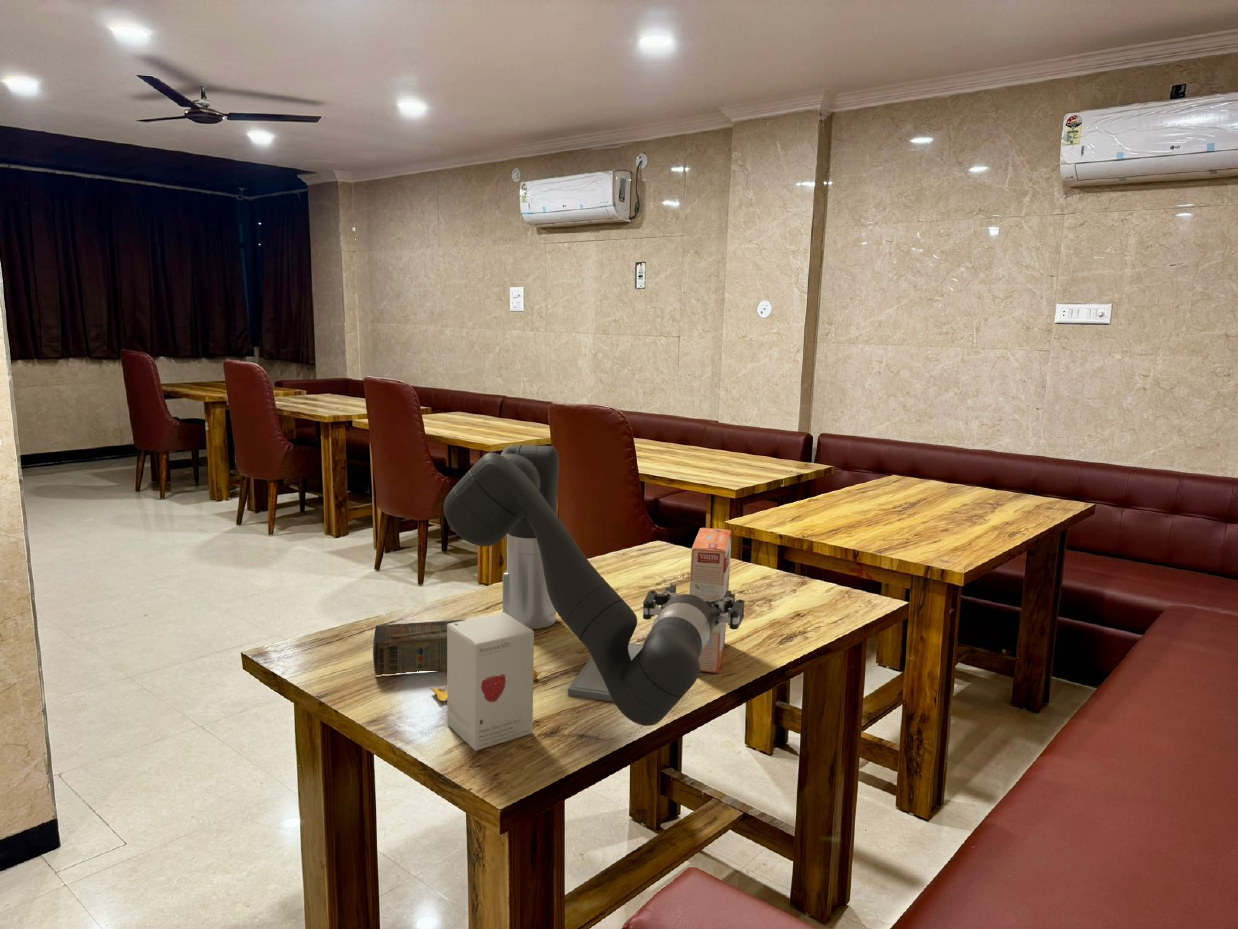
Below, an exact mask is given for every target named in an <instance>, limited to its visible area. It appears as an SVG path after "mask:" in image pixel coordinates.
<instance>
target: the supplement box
mask: <svg viewBox="0 0 1238 929" xmlns="http://www.w3.org/2000/svg"><path fill="white" fill-rule="evenodd" d="M463 620H464V621H459V622H454V623H449V624H447V671H446V683H447V685H446V686H447V700H446V701H447V703H446V705H447V707H446V708H447V711H446V712H447V714H446V717H447V719H446V721H447V725H448V726H449V727H450V728H451V729H452V730H453V731H454V732H455V733H456V734H457V735H458V736H459V737H460V738H461V740H464V742H466V744H468V746H469V747H470V748H472V750H473V751H474V752H477V751H480V750H483V749H486V748H490V747H492V746H495V745H499V744H502V743H505V742H509V741H512V740H515V739H519V738H521V737H526V736H528V735H531V734H533V733H534V732H533V730H534V728H533V727H534V726H533V725H534V723H533V722H534V721H533V720H534V680H533V669H534V664H535V663H534V661H535V660H534V655H535V654H534V653H535V652H534V651H535V650H534V647H535V646H534V645H535V631H534V629H530V628H528V627H527V626H525V625H523V624H521V623H520V622H518V621H517V620H515V619H514V618H512V617H511V616H509V615H508V614H506V613H504V612H503V611H502V612H499V613H495V614H489V615H483V616H477V617H473V618H469V619H463Z"/></svg>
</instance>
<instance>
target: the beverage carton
mask: <svg viewBox="0 0 1238 929" xmlns="http://www.w3.org/2000/svg"><path fill="white" fill-rule="evenodd" d="M464 620H465V619H456V620H455V619H454V620H440V621H439V620H436V621H435V620H434V621H424V622H407V623H391V624H382V625H376V626H375V629H374V636H373V645H372V658H373V659H372V660H373V669H374V675H375V674H376V675H382V674H396V673H406V672H417V671H418V672H419V671H444V672H447V624H449V623H454V622H459V621H464Z"/></svg>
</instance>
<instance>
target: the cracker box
mask: <svg viewBox="0 0 1238 929" xmlns="http://www.w3.org/2000/svg"><path fill="white" fill-rule="evenodd" d="M732 533H733V532H732V530H730V529H724V528H708V527H700V528H699V530H698V533H697V535H696V537H695V540H694V542H693V544H692V547H691V553H690V554H691V556H690V569H689V570H690V573H689V574H690V575H689V591H688V592H689V593H688V594H690V595H694V596H697V597H699V598H701V599H704V600H705V599H709V598H713V597H718V598H720V599H721V598H724V595H725V593H726V591H727V590H728V591H730V590H729V588H730V572H731V553H732V552H731V551H732V535H733V534H732ZM712 606H713V605H712ZM722 611H723V610H722ZM726 631H727V623H723V622H720V623H719V624H718V625H716V626H714V628H713V631H712V633H711V636H710V638H709V640H708V643H707V645H706V647H705V649H704V651H703V653H702V654H701V655H700V656H699V658H698V660H699V664H700V672H703V673H712V674H719V672H720V667H721V662H722V658H723V653H724V647H725V642H726V641H725V640H726Z"/></svg>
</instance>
